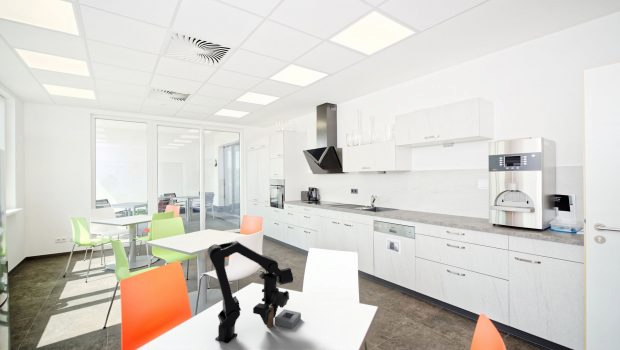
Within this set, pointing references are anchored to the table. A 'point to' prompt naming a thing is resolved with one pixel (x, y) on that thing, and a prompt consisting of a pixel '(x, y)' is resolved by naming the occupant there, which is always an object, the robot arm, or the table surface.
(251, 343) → the table surface
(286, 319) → the socket
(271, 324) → the peg
